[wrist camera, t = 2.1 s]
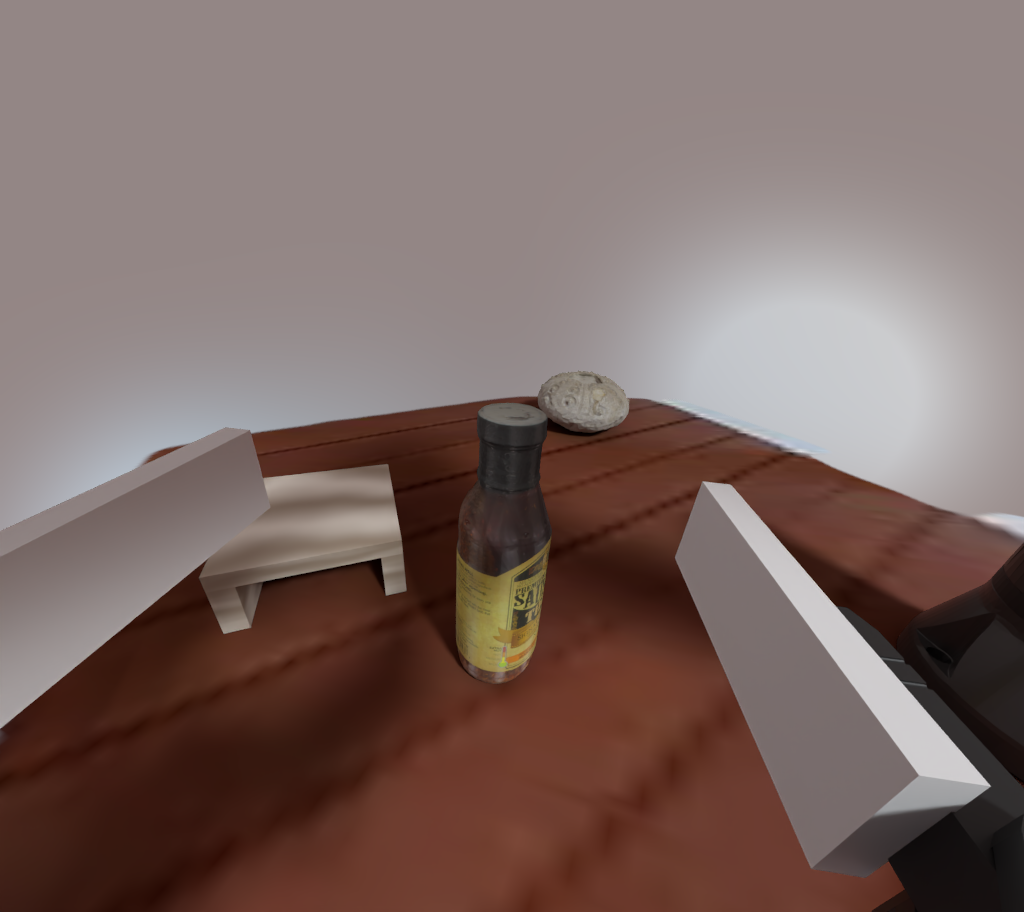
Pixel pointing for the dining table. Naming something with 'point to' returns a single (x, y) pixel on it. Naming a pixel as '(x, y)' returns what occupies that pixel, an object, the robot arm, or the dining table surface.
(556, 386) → the grey rounded lump
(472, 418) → the dining table surface
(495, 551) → the sauce bottle
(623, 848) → the dining table surface
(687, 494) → the dining table surface
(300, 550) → the shelf stand
